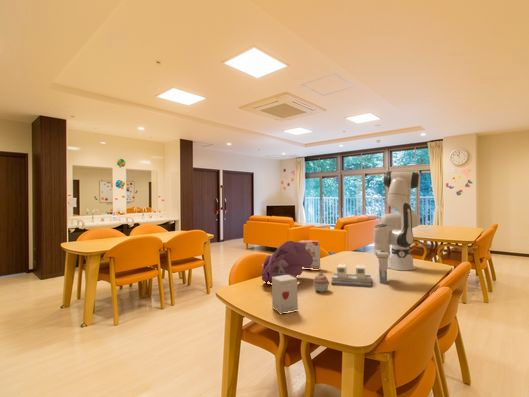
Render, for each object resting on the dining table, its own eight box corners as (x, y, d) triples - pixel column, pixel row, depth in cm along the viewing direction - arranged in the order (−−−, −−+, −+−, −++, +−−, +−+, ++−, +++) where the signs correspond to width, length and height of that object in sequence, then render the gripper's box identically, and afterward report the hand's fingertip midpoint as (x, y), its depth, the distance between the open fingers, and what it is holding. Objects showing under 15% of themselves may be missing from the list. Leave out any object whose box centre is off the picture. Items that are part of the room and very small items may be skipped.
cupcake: (311, 292, 155) (310, 274, 155) (314, 287, 164) (313, 270, 164) (328, 294, 152) (328, 275, 152) (331, 288, 160) (330, 271, 161)
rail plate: (334, 276, 186) (334, 262, 186) (370, 278, 179) (369, 263, 179) (331, 284, 168) (330, 269, 168) (371, 287, 161) (370, 270, 161)
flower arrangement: (284, 301, 157) (288, 252, 152) (250, 287, 170) (253, 242, 165) (311, 279, 186) (316, 238, 181) (280, 269, 199) (284, 230, 194)
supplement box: (280, 315, 125) (279, 281, 126) (272, 308, 134) (270, 276, 134) (298, 311, 129) (297, 278, 129) (289, 305, 137) (288, 274, 138)
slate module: (379, 280, 174) (378, 265, 174) (386, 280, 172) (385, 265, 172) (379, 283, 168) (379, 267, 168) (387, 283, 167) (386, 267, 167)
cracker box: (299, 269, 208) (298, 241, 208) (301, 268, 213) (300, 240, 214) (319, 271, 202) (317, 241, 203) (320, 269, 208) (319, 240, 208)
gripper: (375, 248, 181) (376, 270, 181) (377, 254, 162) (378, 279, 162) (386, 249, 179) (387, 271, 179) (389, 255, 160) (390, 279, 160)
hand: (383, 275), depth 170 cm, fingers closed on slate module, 6 cm apart
